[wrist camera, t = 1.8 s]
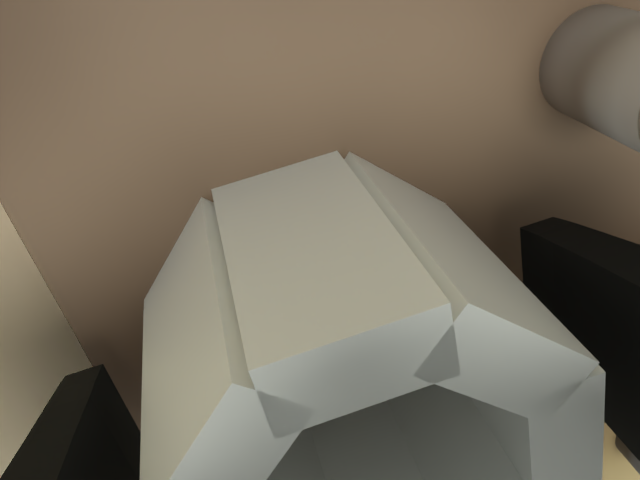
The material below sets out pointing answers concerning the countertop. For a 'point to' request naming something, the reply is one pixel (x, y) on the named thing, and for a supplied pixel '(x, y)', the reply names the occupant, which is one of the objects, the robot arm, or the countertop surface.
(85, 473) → the robot arm
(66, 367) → the countertop surface
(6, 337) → the countertop surface
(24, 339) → the countertop surface
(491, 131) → the gear board
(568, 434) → the hollow cylinder
